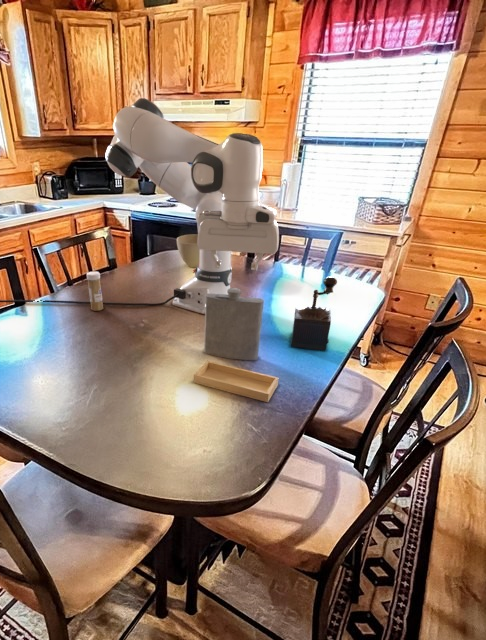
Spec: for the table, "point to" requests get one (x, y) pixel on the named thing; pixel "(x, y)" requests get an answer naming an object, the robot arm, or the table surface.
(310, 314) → the dark brown coffee grinder
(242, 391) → the flask stand
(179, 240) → the flower pot
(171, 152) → the robot arm
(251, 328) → the hip flask
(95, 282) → the sprinkles bottle
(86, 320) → the table surface
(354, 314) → the table surface
